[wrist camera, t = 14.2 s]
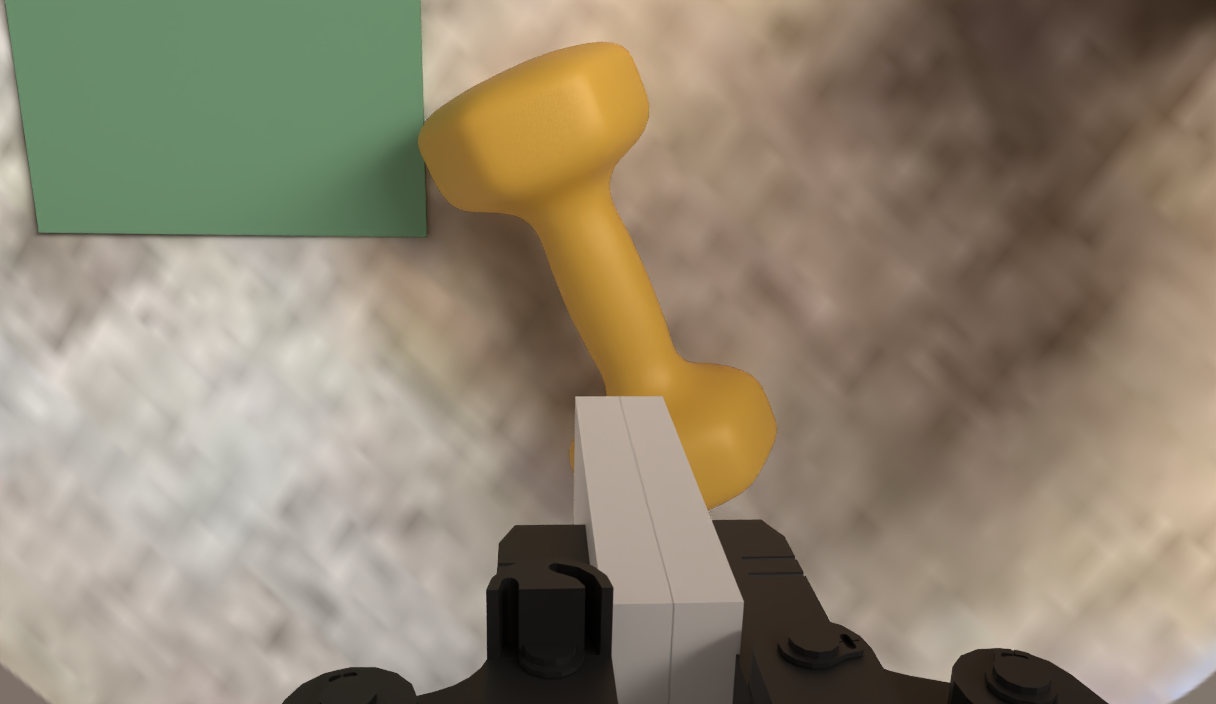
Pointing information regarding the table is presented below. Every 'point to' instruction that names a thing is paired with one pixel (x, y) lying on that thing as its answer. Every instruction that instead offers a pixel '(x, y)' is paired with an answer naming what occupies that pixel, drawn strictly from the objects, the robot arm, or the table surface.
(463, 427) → the table surface
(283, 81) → the green mat
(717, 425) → the dumbbell
